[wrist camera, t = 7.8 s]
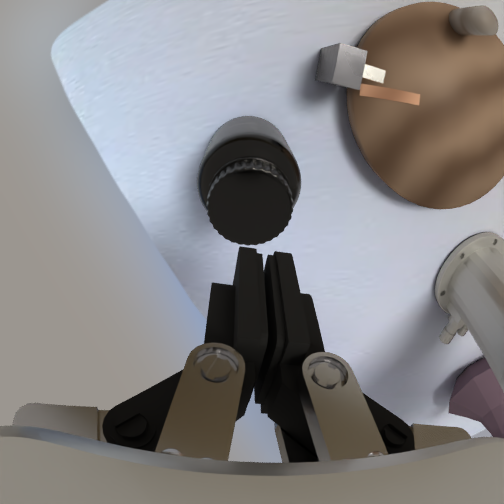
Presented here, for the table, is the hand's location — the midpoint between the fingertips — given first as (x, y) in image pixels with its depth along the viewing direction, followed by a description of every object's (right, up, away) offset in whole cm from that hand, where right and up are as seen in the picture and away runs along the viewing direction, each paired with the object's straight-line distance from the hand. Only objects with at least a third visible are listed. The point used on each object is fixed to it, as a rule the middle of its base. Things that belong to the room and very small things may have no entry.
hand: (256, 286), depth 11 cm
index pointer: (+6, +17, +12) cm, 22 cm away
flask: (+43, -22, +37) cm, 61 cm away
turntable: (+18, +15, +13) cm, 27 cm away
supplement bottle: (0, +10, +17) cm, 20 cm away
